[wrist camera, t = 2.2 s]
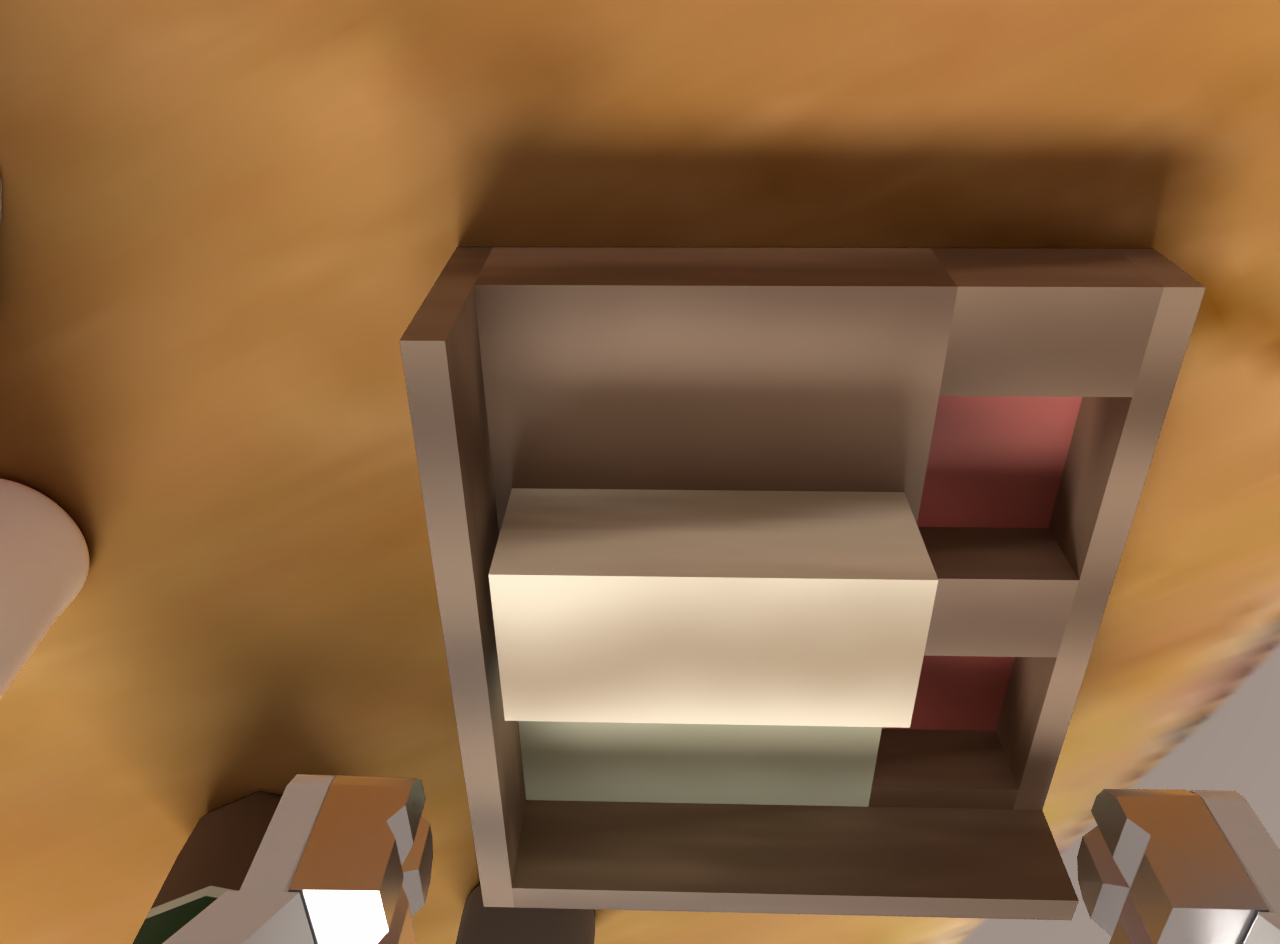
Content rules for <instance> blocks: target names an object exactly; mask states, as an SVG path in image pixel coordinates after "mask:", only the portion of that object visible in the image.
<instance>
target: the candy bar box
mask: <svg viewBox="0 0 1280 944" xmlns="http://www.w3.org/2000/svg"><path fill="white" fill-rule="evenodd" d="M1 190H2V183H1V179H0V224H1V215H2V204H1Z"/></svg>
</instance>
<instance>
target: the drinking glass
mask: <svg viewBox="0 0 1280 944" xmlns="http://www.w3.org/2000/svg"><path fill="white" fill-rule="evenodd" d="M89 565H90V559H89V551H88V547H87V544H86V541H85V539H84V537H83V535H82V533H81V531H80V529H79V528H78V526H77V524H76V523H75V522H74V521H73V519H72V518H71V517H70V516H69V515H68V514H67V513H66V512H65V511H64V510H63V509H62V508H61V507H60V506H59V505H58V504H56V503H55V502H54V501H52V500H51V499H50V498H48V497H47V496H45V495H43V494H42V493H40V492H38V491H36V490H34V489H32V488H30V487H28V486H25V485H23V484H20V483H17V482H14V481H10V480H6V479H1V478H0V700H1V698H2V697H3V695H4V694H5V693H6V691H7V690H8V688H9V687H10V685H11V684H12V682H13V681H14V680H15V678H16V677H17V675H18V674H19V672H20V671H21V669H22V668H23V667H24V665H25V664H26V662H27V661H28V659H29V658H30V656H31V655H32V654H33V652H34V651H35V649H36V648H37V646H38V645H39V644H40V642H41V641H42V639H43V638H44V637H45V635H46V634H47V632H48V631H49V629H50V628H51V627H52V625H53V624H54V623H55V621H56V620H57V619H58V618H59V617H60V615H61V614H62V613H63V612H64V611H65V610H66V608H67V607H68V606H69V605H70V604H71V602H72V601H73V600H74V599H75V598H76V596H77V595H78V594H79V593H80V591H81V589H82V588H83V586H84V584H85V582H86V579H87V577H88V573H89Z"/></svg>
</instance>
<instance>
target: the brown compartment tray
mask: <svg viewBox="0 0 1280 944" xmlns="http://www.w3.org/2000/svg"><path fill="white" fill-rule="evenodd" d="M1205 288H1206V287H1204V286H1203V285H1202V284H1200V283H1199V282H1198V281H1196V280H1195V279H1194V278H1192V277H1191V276H1190V275H1188V274H1187V273H1185V272H1184V271H1183V270H1181V269H1180V268H1179V267H1177V266H1176V265H1175V264H1173V263H1172V262H1171V261H1169V260H1168V259H1166V258H1165V257H1164V256H1162V255H1161V254H1160V253H1158V252H1157V251H1156V250H1154V249H1131V248H663V247H457V248H456V250H455V251H454V253H453V255H452V256H451V258H450V260H449V261H448V263H447V264H446V266H445V268H444V269H443V271H442V273H441V274H440V276H439V277H438V279H437V281H436V282H435V284H434V286H433V287H432V289H431V290H430V292H429V294H428V295H427V297H426V299H425V300H424V302H423V303H422V305H421V307H420V308H419V310H418V311H417V313H416V315H415V316H414V318H413V320H412V321H411V323H410V324H409V326H408V328H407V329H406V331H405V333H404V334H403V336H402V337H401V339H400V347H401V354H402V361H403V367H404V374H405V381H406V387H407V394H408V401H409V408H410V414H411V421H412V428H413V434H414V441H415V448H416V455H417V461H418V468H419V475H420V481H421V488H422V495H423V502H424V508H425V515H426V522H427V528H428V535H429V542H430V549H431V555H432V562H433V569H434V576H435V582H436V589H437V596H438V602H439V609H440V616H441V623H442V629H443V636H444V643H445V649H446V656H447V663H448V670H449V676H450V683H451V690H452V696H453V703H454V710H455V717H456V723H457V730H458V737H459V743H460V750H461V757H462V764H463V770H464V777H465V784H466V790H467V797H468V804H469V811H470V817H471V824H472V831H473V837H474V844H475V851H476V858H477V864H478V871H479V878H480V884H481V891H482V898H483V905H484V907H516V908H559V909H603V910H646V911H689V912H733V913H776V914H820V915H863V916H907V917H950V918H993V919H995V918H996V919H1037V920H1072V918H1073V915H1074V912H1075V910H1076V907H1077V904H1078V901H1079V900H1078V898H1077V896H1076V893H1075V891H1074V888H1073V886H1072V883H1071V881H1070V878H1069V876H1068V873H1067V871H1066V868H1065V866H1064V864H1063V861H1062V858H1061V856H1060V853H1059V851H1058V848H1057V846H1056V843H1055V841H1054V838H1053V836H1052V833H1051V831H1050V828H1049V826H1048V823H1047V821H1046V818H1045V816H1044V813H1043V811H1042V809H1043V806H1044V803H1045V799H1046V796H1047V793H1048V790H1049V787H1050V783H1051V780H1052V777H1053V774H1054V771H1055V767H1056V764H1057V761H1058V758H1059V755H1060V751H1061V748H1062V745H1063V742H1064V739H1065V735H1066V732H1067V729H1068V726H1069V723H1070V719H1071V716H1072V713H1073V710H1074V707H1075V703H1076V700H1077V697H1078V694H1079V691H1080V687H1081V684H1082V681H1083V678H1084V675H1085V672H1086V668H1087V665H1088V662H1089V659H1090V656H1091V652H1092V649H1093V646H1094V643H1095V640H1096V636H1097V633H1098V630H1099V627H1100V624H1101V620H1102V617H1103V614H1104V611H1105V608H1106V604H1107V601H1108V598H1109V595H1110V592H1111V588H1112V585H1113V582H1114V579H1115V576H1116V572H1117V569H1118V566H1119V563H1120V560H1121V556H1122V553H1123V550H1124V547H1125V544H1126V540H1127V537H1128V534H1129V531H1130V528H1131V524H1132V521H1133V518H1134V515H1135V512H1136V509H1137V505H1138V502H1139V499H1140V496H1141V493H1142V489H1143V486H1144V483H1145V480H1146V477H1147V473H1148V470H1149V467H1150V464H1151V461H1152V457H1153V454H1154V451H1155V448H1156V445H1157V441H1158V438H1159V435H1160V432H1161V429H1162V425H1163V422H1164V419H1165V416H1166V413H1167V409H1168V406H1169V403H1170V400H1171V397H1172V393H1173V390H1174V387H1175V384H1176V381H1177V377H1178V374H1179V371H1180V368H1181V365H1182V361H1183V358H1184V355H1185V352H1186V349H1187V346H1188V342H1189V339H1190V336H1191V333H1192V330H1193V326H1194V323H1195V320H1196V317H1197V314H1198V310H1199V307H1200V304H1201V301H1202V298H1203V294H1204V291H1205ZM512 488H530V489H632V490H734V491H837V492H905V495H906V498H907V500H908V503H909V505H910V508H911V511H912V513H913V516H914V518H915V521H916V523H917V526H918V529H919V531H920V534H921V536H922V539H923V542H924V544H925V547H926V549H927V552H928V555H929V557H930V560H931V562H932V565H933V568H934V570H935V573H936V575H937V578H938V585H937V590H936V595H935V600H934V606H933V611H932V616H931V621H930V626H929V631H928V637H927V642H926V647H925V652H924V657H923V662H922V668H921V673H920V678H919V683H918V688H917V693H916V699H915V704H914V709H913V714H912V719H911V724H910V728H901V727H842V726H784V725H726V724H667V723H609V722H550V721H505V718H504V709H503V700H502V691H501V682H500V673H499V664H498V655H497V646H496V637H495V628H494V620H493V611H492V602H491V593H490V584H489V575H488V574H489V571H490V567H491V563H492V560H493V556H494V552H495V549H496V545H497V541H498V538H499V534H500V530H501V527H502V523H503V519H504V516H505V512H506V508H507V505H508V501H509V497H510V494H511V490H512Z"/></svg>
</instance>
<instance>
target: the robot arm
mask: <svg viewBox="0 0 1280 944" xmlns="http://www.w3.org/2000/svg"><path fill="white" fill-rule="evenodd" d="M425 799H426V798H425V794H424V789H423V785H422V780H419V779H414V778H391V777H368V776H345V775H337V776H335V775H307V774H297V775H296V776H295V777H294V778H293V779H292V780H291V781H290V783H289V784H288V785H287V786H286V788H285V791H284V793H283V795H282V797H281V800H280V802H279V804H278V806H277V808H276V811H275V813H274V815H273V817H272V820H271V822H270V824H269V826H268V828H267V831H266V833H265V835H264V837H263V840H262V842H261V844H260V846H259V848H258V851H257V853H256V855H255V857H254V860H253V862H252V864H251V866H250V868H249V871H248V873H247V875H246V877H245V880H244V882H243V884H242V886H241V888H240V891H226V892H225V893H224V894H222V895H221V896H220V897H219V898H218V899H216V900H215V901H214V902H213V903H211V904H210V905H209V906H208V907H207V908H205V909H204V910H203V911H202V912H200V913H199V914H198V915H197V916H196V917H194V918H193V919H192V920H191V921H189V922H188V923H187V924H186V925H185V926H183V927H182V928H181V929H180V930H178V931H177V932H176V933H175V934H173V935H172V936H171V937H170V938H169V939H167V940H166V941H165V942H164V943H162V944H415V940H416V937H415V931H414V926H413V921H412V916H413V915H414V914H415V913H416V912H417V911H418V910H419V909H420V908H421V907H422V906H423V905H424V904H425V901H426V896H427V892H428V888H429V884H430V877H431V868H432V859H433V846H432V833H431V827H430V824H429V823H428V822H427V821H426V820H425V819H423V818H422V817H421V814H422V810H423V807H424V803H425ZM1091 811H1092V814H1093V816H1094V818H1095V820H1096V822H1097V825H1098V826H1097V827H1095V828H1094V829H1092V830H1091V831H1090V832H1088V833H1087V834H1086V835H1084V836H1083V838H1082V841H1081V845H1080V849H1079V852H1078V856H1077V858H1078V859H1077V860H1078V881H1079V885H1080V889H1081V893H1082V897H1083V900H1084V902H1085V905H1086V908H1087V910H1088V913H1089V915H1090V918H1091V919H1092V920H1093V921H1094V922H1096V923H1097V924H1098V925H1099V926H1100V927H1101V928H1102V929H1104V930H1105V931H1106V932H1107V933H1108V934H1109V935H1110V936H1112V938H1111V941H1110V943H1109V944H1280V850H1279V848H1278V847H1277V845H1276V844H1275V842H1274V841H1273V839H1272V838H1271V836H1270V835H1269V833H1268V832H1267V831H1266V829H1265V827H1264V826H1263V824H1262V823H1261V821H1260V820H1259V818H1258V817H1257V815H1256V814H1255V812H1254V811H1253V809H1252V808H1251V806H1250V805H1249V803H1248V802H1247V800H1246V799H1245V798H1244V797H1243V796H1242V795H1240V794H1239V793H1237V792H1236V791H1205V790H1201V791H1200V790H1191V791H1187V790H1148V789H1142V790H1140V789H1104V790H1103V791H1102V792H1101V793H1099V794H1098V795H1097V796H1096V799H1095V802H1094V805H1093V808H1092V810H1091Z"/></svg>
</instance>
